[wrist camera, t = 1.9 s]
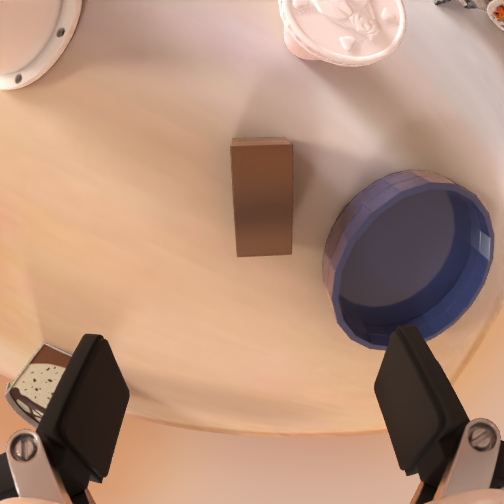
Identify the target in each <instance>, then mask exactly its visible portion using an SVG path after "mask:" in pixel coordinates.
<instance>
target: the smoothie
mask: <svg viewBox="0 0 504 504" xmlns="http://www.w3.org/2000/svg"><path fill="white" fill-rule="evenodd" d="M279 8H280V15H281V18H282V20H283V22H284V41H285V44H286V46H287V48H288V49H289V50H290V52H291V53H293V54H294V55H295V56H297V57H299V58H301V59H305V60H324V61H325V62H329V63H333V64H336V65H340V66H353V67H359V66H364V65H368V64H373V63H374V62H376V61H379V60H381V59H383V58H385V57H387V56H389V55H390V54H391V53H392V52H394V51H395V50H396V48H397V47H398V46H399V45H400V43H401V41H402V39H403V37H404V34H405V30H406V12H405V8H404V4H403V2H402V0H279Z"/></svg>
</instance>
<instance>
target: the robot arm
mask: <svg viewBox="0 0 504 504" xmlns="http://www.w3.org/2000/svg"><path fill="white" fill-rule="evenodd" d="M81 5H82V0H0V90H13V89H19V88H22V87H24V86H27V85H29V84H31V83H32V82H34V81H36V80H37V79H39V78H40V77H41V76H42V75H43V74H45V73H46V72H47V71H48V70H49V69H50V68H51V67H52V66H53V64H54V63H55V62H56V61H57V60H58V58H59V57H60V56H61V54H62V53H63V52H64V50H65V48H66V46H67V45H68V43H69V41H70V40H71V38H72V35H73V33H74V31H75V28H76V26H77V23H78V19H79V16H80V13H81ZM374 391H375V394H376V397H377V400H378V403H379V406H380V409H381V411H382V414H383V417H384V420H385V423H386V426H387V429H388V432H389V435H390V438H391V441H392V445H393V448H394V451H395V454H396V457H397V460H398V463H399V467H400V469H401V470H405V472H406V475H407V476H410V475H413V474H416V473H419V476H420V479H421V482H420V484H419V486H418V488H417V490H416V492H415V494H414V496H413V498H412V500H411V502H410V504H504V441H502V440H501V436H500V431H499V429H498V428H497V426H496V425H495V424H494V423H493V422H492V421H490V420H488V419H484V418H476V419H474V420H472V421H470V420H469V418H468V416H467V414H466V412H465V410H464V408H463V406H462V404H461V403H460V401H459V399H458V397H457V395H456V393H455V391H454V389H453V387H452V386H451V384H450V382H449V380H448V378H447V376H446V375H445V373H444V371H443V369H442V368H441V366H440V364H439V363H438V361H437V360H436V359H435V357H434V355H433V354H432V352H431V350H430V349H429V347H428V345H427V344H426V342H425V340H424V339H423V337H422V335H421V334H420V332H419V330H418V329H417V327H416V326H415V325H406V326H399V327H397V328H396V331H393V332H392V334H391V337H390V340H389V343H388V346H387V349H386V352H385V355H384V358H383V361H382V364H381V367H380V370H379V373H378V375H377V378H376V381H375V384H374ZM128 401H129V389H128V387H127V385H126V383H125V381H124V378H123V376H122V374H121V372H120V369H119V367H118V365H117V362H116V360H115V358H114V355H113V353H112V350H111V348H110V345H109V343H108V341H107V340H106V339H104V338H103V336H102V335H97V334H85V335H84V336H83V337H82V339H81V341H80V343H79V344H78V346H77V348H76V350H75V352H74V354H73V355H72V357H71V359H70V361H69V363H68V365H67V367H66V369H65V371H64V373H63V375H62V377H61V379H60V381H59V383H58V385H57V387H56V389H55V391H54V393H53V395H52V397H51V399H50V401H49V403H48V405H47V407H46V409H45V412H44V414H43V416H42V418H41V420H40V423H39V425H38V427H37V430H36V432H34V431H32V430H30V429H22V430H18V431H16V432H15V433H13V435H11V436H10V438H9V440H8V442H7V446H6V452H5V453H3V454H1V455H0V504H96V503H95V501H94V500H93V498H92V496H91V494H90V492H89V490H88V489H87V487H88V483H89V480H90V481H93V482H97V483H102V480H103V477H106V476H107V475H108V472H109V468H110V464H111V460H112V457H113V453H114V449H115V445H116V441H117V438H118V435H119V431H120V428H121V424H122V421H123V417H124V414H125V411H126V407H127V404H128Z"/></svg>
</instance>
